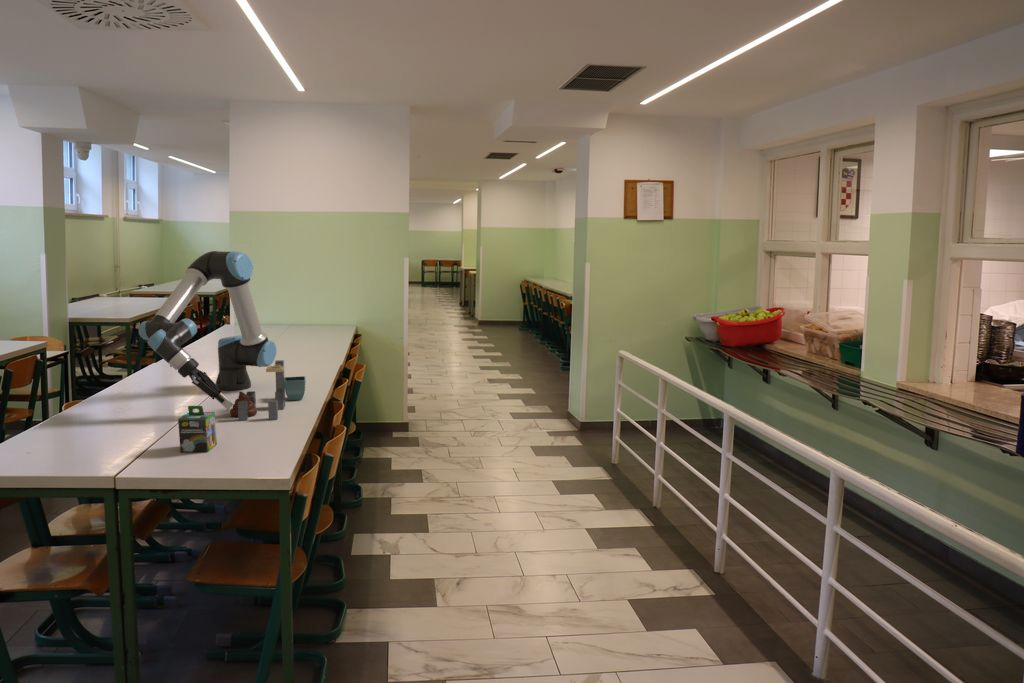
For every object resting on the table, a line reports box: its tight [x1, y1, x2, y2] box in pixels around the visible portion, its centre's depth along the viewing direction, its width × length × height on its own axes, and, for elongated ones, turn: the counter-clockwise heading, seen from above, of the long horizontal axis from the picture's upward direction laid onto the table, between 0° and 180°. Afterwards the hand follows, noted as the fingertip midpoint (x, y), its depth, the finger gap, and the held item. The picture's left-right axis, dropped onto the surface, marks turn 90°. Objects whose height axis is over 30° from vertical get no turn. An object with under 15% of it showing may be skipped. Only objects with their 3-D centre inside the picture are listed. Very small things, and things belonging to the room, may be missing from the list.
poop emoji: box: [229, 391, 258, 418], centre depth 311 cm, size 10×8×9 cm
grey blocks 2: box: [267, 390, 285, 421], centre depth 313 cm, size 3×20×7 cm, turn 8°
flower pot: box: [284, 375, 307, 401], centre depth 339 cm, size 9×9×9 cm
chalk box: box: [177, 405, 218, 453], centre depth 264 cm, size 9×9×15 cm
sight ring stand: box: [265, 359, 286, 409], centre depth 317 cm, size 6×16×19 cm, turn 8°
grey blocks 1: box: [237, 391, 257, 422], centre depth 312 cm, size 3×20×7 cm, turn 8°
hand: (230, 407), depth 309 cm, fingers closed
